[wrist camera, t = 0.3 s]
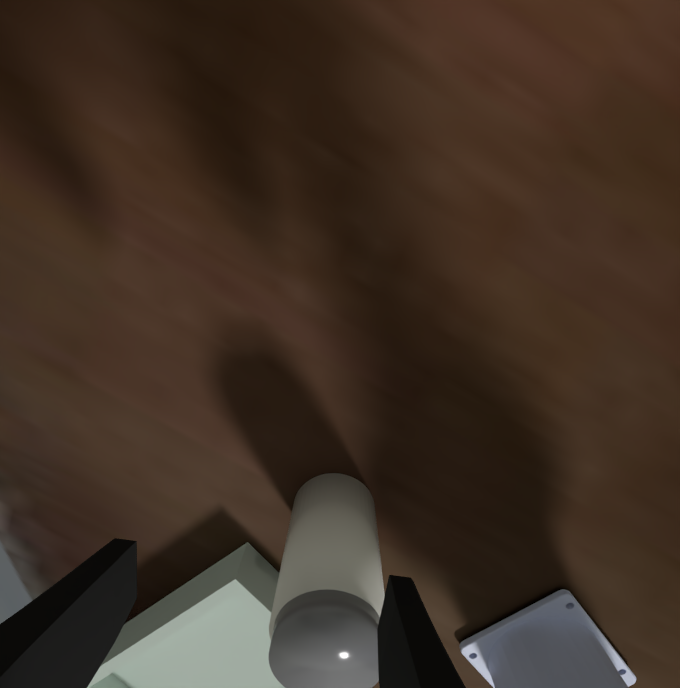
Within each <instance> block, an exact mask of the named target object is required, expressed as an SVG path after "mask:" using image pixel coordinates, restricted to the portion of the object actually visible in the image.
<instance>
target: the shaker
mask: <svg viewBox="0 0 680 688" xmlns="http://www.w3.org/2000/svg"><path fill="white" fill-rule="evenodd" d="M384 597H385V595H384V586H383V577H382V568H381V559H380V550H379V541H378V532H377V523H376V514H375V505H374V500H373V497H372V495H371V493H370V491H369V490H368V489H367V487H366V486H365V485H364V484H363V483H361V482H360V481H359V480H357V479H355V478H353V477H351V476H348V475H345V474H339V473H327V474H322V475H319V476H316V477H314V478H312V479H310V480H308V481H307V482H306V483H305V484H304V485H303V486H302V487H301V488H300V489H299V490H298V492H297V494H296V496H295V499H294V504H293V509H292V514H291V519H290V524H289V529H288V534H287V539H286V544H285V548H284V553H283V558H282V563H281V568H280V573H279V578H278V583H277V588H276V593H275V598H274V602H273V607H272V612H271V617H270V622H269V636H270V640H271V644H270V649H269V665H270V668H271V671H272V673H273V675H274V676H275V678H276V679H277V680H278V681H279V682H280V683H281V684H282V685H283V686H284V687H285V688H372V687H373V686H374V685H375V684H376V683H377V682H378V681H379V673H378V638H377V628H378V624H379V619H380V615H381V610H382V606H383V601H384Z"/></svg>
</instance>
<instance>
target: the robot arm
mask: <svg viewBox="0 0 680 688" xmlns="http://www.w3.org/2000/svg"><path fill="white" fill-rule="evenodd" d="M136 599H137V541H131V540H124V539H116V538H115V539H113V540H112V541H111V542H109V543H108V544H107V545H105V546H104V547H103V548H101V549H100V550H99V551H97V552H96V553H95V554H94V555H92V556H91V557H90V558H88V559H87V560H86V561H84V562H83V563H82V564H81V565H79V566H78V567H77V568H75V569H74V570H73V571H71V572H70V573H69V574H68V575H66V576H65V577H64V578H62V579H61V580H60V581H58V582H57V583H56V584H54V585H53V586H52V587H50V588H49V589H48V590H46V591H45V592H44V593H42V594H41V595H40V596H38V597H37V598H36V599H34V600H33V601H32V602H30V603H29V604H28V605H26V606H25V607H24V608H22V609H21V610H19V611H18V612H17V613H15V614H14V615H13V616H11V617H10V618H8V619H7V620H5V621H4V622H3V623H1V624H0V688H87V687H88V685H89V684H90V682H91V681H92V679H93V677H94V676H95V674H96V672H97V671H98V669H99V668H100V666H101V664H102V663H103V661H104V659H105V658H106V656H107V654H108V653H109V651H110V649H111V648H112V646H113V644H114V643H115V641H116V639H117V637H118V635H119V633H120V631H121V629H122V627H123V625H124V623H125V621H126V619H127V617H128V615H129V613H130V611H131V609H132V607H133V605H134V603H135V601H136ZM377 638H378V673H379V684H380V688H466V687H465V686H464V684H463V682H462V680H461V678H460V676H459V675H458V673H457V671H456V669H455V667H454V665H453V663H452V661H451V659H450V657H449V656H448V654H447V652H446V650H445V648H444V646H443V644H442V642H441V640H440V638H439V636H438V634H437V632H436V630H435V628H434V626H433V624H432V622H431V619H430V617H429V615H428V613H427V611H426V609H425V607H424V604H423V602H422V600H421V598H420V595H419V593H418V591H417V589H416V586H415V584H414V582H413V580H412V579H411V578H409V577H401V576H394V575H389V579H388V584H387V588H386V593H385V597H384V601H383V606H382V610H381V615H380V619H379V624H378V628H377ZM460 650H461V653H462V654H463V655H464V656H465V658H466V659H467V660H468V661H469V662H470V663H471V664H472V665H473V666H474V667H475V668H476V669H477V670H478V672H479V673H480V674H481V675H482V676H483V677H484V678H485V679H486V680H487V681H488V682H489V683H490V685H491V686H492V687H493V688H628V686H631V685H633V684H634V683H635V682H636V677H635V675H634V674H633V672H632V671H631V669H630V668H629V667H628V666H627V664H626V663H625V662H624V661H623V659H622V658H621V657H620V655H619V654H618V653H617V652H616V650H615V649H614V648H613V646H612V645H611V644H610V643H609V641H608V640H607V639H606V637H605V636H604V635H603V634H602V632H601V631H600V630H599V628H598V627H597V626H596V625H595V623H594V622H593V621H592V620H591V618H590V617H589V616H588V614H587V613H586V612H585V611H584V609H583V608H582V607H581V605H580V604H579V603H578V602H577V600H576V599H575V598H574V596H573V595H572V594H571V593H570V592H569V591H568V590H565V589H561V590H558V591H557V592H555V593H553V594H551V595H549V596H547V597H545V598H543V599H541V600H539V601H538V602H536V603H534V604H532V605H530V606H528V607H526V608H524V609H522V610H520V611H519V612H517V613H515V614H513V615H511V616H509V617H507V618H505V619H503V620H501V621H499V622H498V623H496V624H494V625H492V626H490V627H488V628H486V629H484V630H482V631H480V632H479V633H477V634H475V635H473V636H471V637H469V638H467V639H465V640H463V641H462V642H461V643H460Z"/></svg>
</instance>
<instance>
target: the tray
mask: <svg viewBox="0 0 680 688" xmlns="http://www.w3.org/2000/svg"><path fill="white" fill-rule="evenodd" d="M278 578H279V572H278V571H277V570H276V569H275V568H274V567H273V566H272V565H271V564H270V563H269V562H268V561H267V560H265V559H264V558H263V557H262V556H261V555H260V554H259V553H258V552H257V551H256V550H255V549H254V548H253V547H252V546H251V545H250V544H249V543H248V542H247V543H246V544H244V545H243V546H241V547H240V548H238V549H237V550H235V551H234V552H232V553H231V554H229V555H228V556H226V557H225V558H223V559H222V560H220V561H219V562H217V563H215V564H214V565H212V566H211V567H209V568H208V569H206V570H205V571H203V572H202V573H200V574H199V575H197V576H196V577H194V578H193V579H191V580H190V581H188V582H187V583H185V584H184V585H182V586H181V587H179V588H178V589H176V590H175V591H173V592H172V593H170V594H169V595H167V596H166V597H164V598H163V599H161V600H160V601H158V602H157V603H155V604H154V605H152V606H151V607H149V608H148V609H146V610H145V611H143V612H142V613H140V614H139V615H137V616H136V617H134V618H133V619H131V620H130V621H128V622H127V623H125V624H124V625H123V627H122V629H121V631H120V633H119V635H118V637H117V639H116V641H115V643H114V644H113V646H112V648H111V649H110V651H109V653H108V654H107V656H106V658H105V659H104V661H103V663H102V664H101V666H100V668H99V669H98V671H97V672H96V674H95V676H94V677H93V679H92V681H91V682H90V684H89V685H88V687H87V688H285V687H284V686H283V685H282V684H281V683H280V682H279V681H278V680H277V679H276V678H275V676H274V675H273V673H272V671H271V668H270V665H269V649H270V644H271V640H270V636H269V622H270V617H271V612H272V607H273V602H274V598H275V593H276V588H277V583H278ZM372 688H373V687H372Z"/></svg>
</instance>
